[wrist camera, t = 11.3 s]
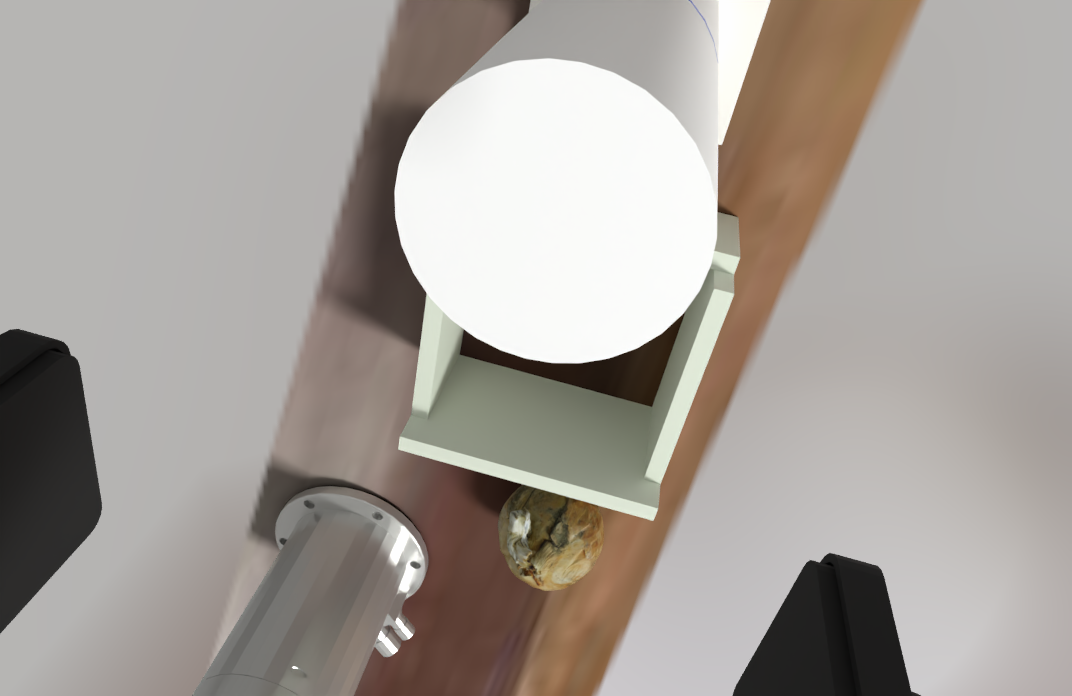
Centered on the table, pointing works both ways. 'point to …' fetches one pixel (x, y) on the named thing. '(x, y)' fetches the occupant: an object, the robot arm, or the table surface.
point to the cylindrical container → (571, 179)
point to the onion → (549, 537)
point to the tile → (731, 51)
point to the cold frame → (565, 408)
